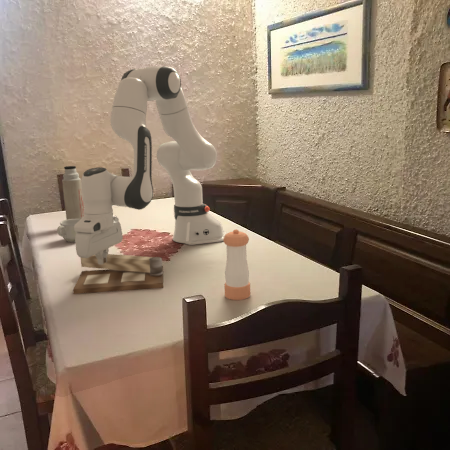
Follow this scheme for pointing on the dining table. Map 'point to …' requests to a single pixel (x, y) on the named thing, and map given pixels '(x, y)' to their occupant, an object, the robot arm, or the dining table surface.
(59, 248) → the dining table surface
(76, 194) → the thermos bottle
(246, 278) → the pepper shaker
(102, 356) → the dining table surface
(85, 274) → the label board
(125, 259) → the swing bar
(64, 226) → the teacup
